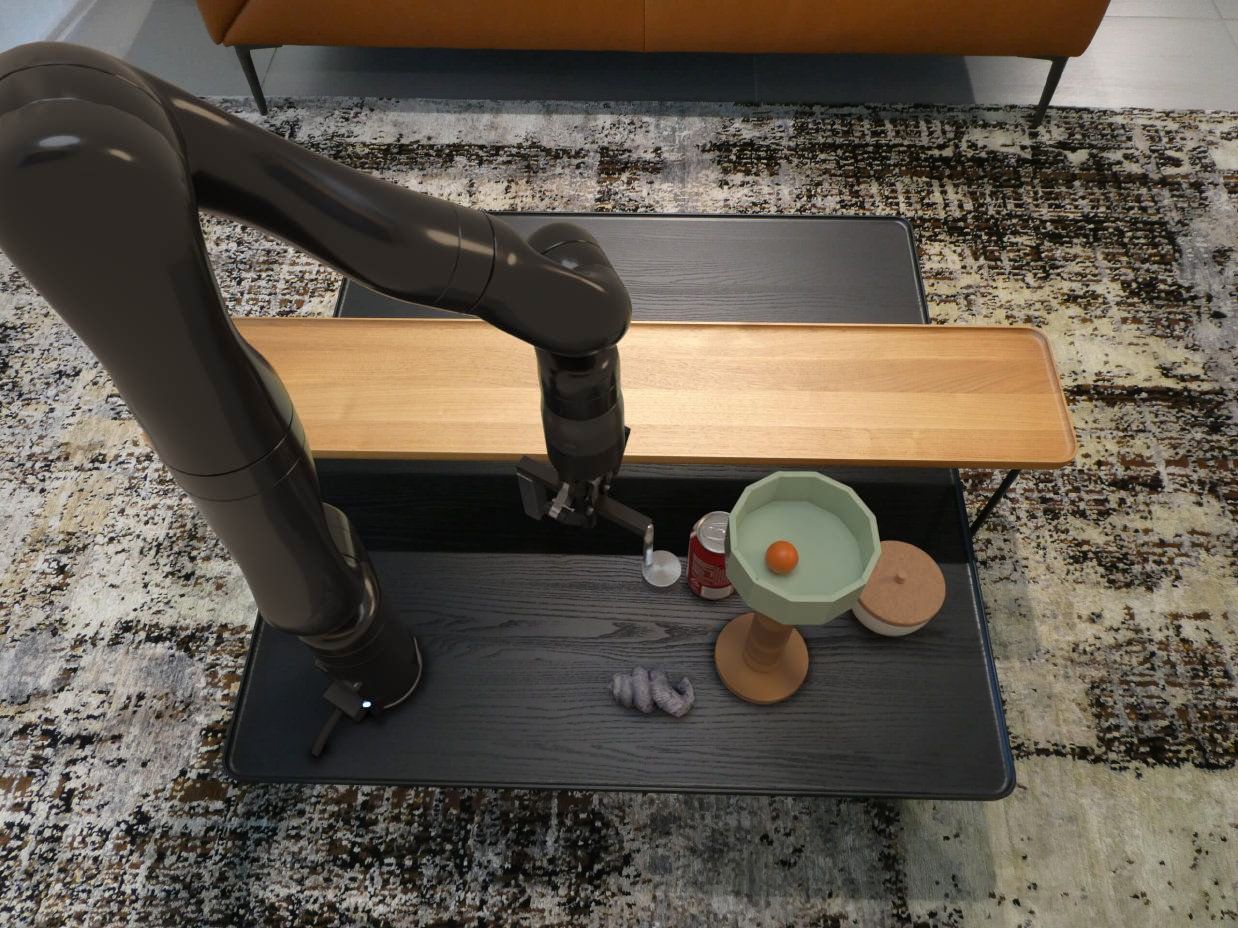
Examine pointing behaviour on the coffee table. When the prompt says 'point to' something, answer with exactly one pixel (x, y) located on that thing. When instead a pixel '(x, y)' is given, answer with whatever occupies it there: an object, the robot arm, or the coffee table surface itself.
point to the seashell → (652, 691)
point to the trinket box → (900, 591)
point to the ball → (781, 557)
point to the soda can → (709, 557)
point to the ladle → (656, 567)
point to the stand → (761, 658)
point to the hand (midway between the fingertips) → (591, 514)
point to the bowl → (801, 547)
